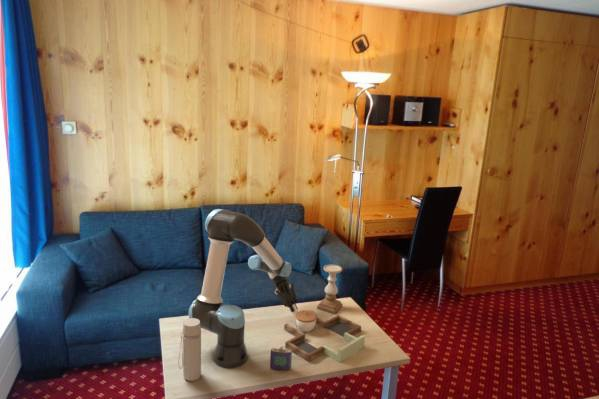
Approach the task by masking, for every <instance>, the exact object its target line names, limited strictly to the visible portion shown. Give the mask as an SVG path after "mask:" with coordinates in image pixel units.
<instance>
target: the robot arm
mask: <svg viewBox="0 0 599 399" xmlns="http://www.w3.org/2000/svg"><path fill="white" fill-rule="evenodd" d="M204 221H205V222H204V228H205V231H206V232H207V233H208V235H207V236H208V237H207V238H208V240H209V242H210V244H209V250H208V253H207V254H208V256H207V261H206V264H205V265H206V266H205V270H204V271H205V272H204V276H203V283H202V287H201V293H200V294H199V295H198V296H197V297H196V299H195V300H193V301H192V303H191V304H190V306H189V308H188V319H190V318H196V319H198V320H199V321H200V326H201V329H202V330H205V331H207V332H209V333H210V332H211V333H213V334H215V335H217V337H216V338H217V340H216V341H217V342H216V346H215V348H214V351H213V354H212V358H213V359H212V360H213V362H214V363H215V365H217V366H218V367H222V368H227V369H231V368H233V369H234V368H237V367H241V366H242V365H243V364H245V363H247V360H248V354H249V353H248V349H247V347H246V343H245V325H246V319H245V313H244V310H243V309H242V308H241V307H239V306H237V305H235V304H223V302H224V300H223V299H222V297H221V295H222V289H223V283H224V278H225V273H226V272H225V271H226V266H227V262H228V257H229V251H230V245H232V244H233V243H234V242H235V240H236V241H240V242H242V243H244V244H245V245H246V246H248V247H249V248H252V249H253V250H254V251H255V253H256V254H254V255H251V256H249V258H248V261H247V265H248V267H249V269H251V270H252V271H258V270H259V271H262V272H265V273H267V274H268V277H269V279H270V280H271V283H272V285H273V286H274V287H275V291H274V292H273V294H274V295H275V296H276V297H277V298H278V299H279V301H280V302H281V303H282V305H283V306H284V307H285V308H289V310H290V312H291V313H292V314H293V315H294V316H293V317H294V318H295V319H296V316H295V315H296V313H297V312H299V308H298V306H297V302H298V298H297V295H296V290H295V289H294V288H295V287H294V284H293V283H292V284H290V283H289V282H288V280H287V279H288V277H289V276H290V274H291V273H292V269H293V268H292V264H291V263H290V262H287V261H286V260H284V259H283V258H282V257H281V255H279V253H278V252H277V250H276V249H275V248H274V247H273V245H272V244H271V243H270V242H269V240H268V239H267V238H266V237H265V236H266V235H265V232H264V230H263V229H262V228H261V226H260V225H259V224H258V223H257V222H256V221H255V220H253V219H252V218H251V217H249V215H247V214H243V213H241V212H235V211H232V210H231V211H230V210H227V209H223V208H222V209H221V208H217V209H213V210H212V211H210V213H208V215H207V217H206V219H205V220H204Z"/></svg>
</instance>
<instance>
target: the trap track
mask: <svg viewBox="0 0 599 399" xmlns="http://www.w3.org/2000/svg"><path fill="white" fill-rule="evenodd" d="M315 325H317V326H319V327H320V328H322V329H324V330H326V329H328V330H330V331H332V332H333V333H335V334H338V335H340V336H342V337H343V340H345V341H347V342H348V343H346V344H344V345H342V346H341V347H340V348H338V350H337V351H336V350H334V349H332V348H330V347H329V346H327V345H325V344H323V345H321V346H319V347H315V346H314V345H312V344H310V343H309V342H307V341H305V340H306V334H305V332H302V331H300V330H299V329H298V328H295V327H293V326H292V325H290V324H288V323H285V324H283V330H284V331H285V332H287V333H288V334H290V335H292V336H293V337H292V338H291V339H288V340H287V341H285V342H284V344H285V346H284V348H285V349H286V350H288V349H290V350H292V354H294V355H296V356H297V357H299V358H301V359H303V360H304V361H305V362H307V363H310V362H311V361H313V360H315V359H316V358H319V357H320V356H322V355H323V354H325V355H326V356H328V357H330V358H332V359H333V360H335V361H337V362H338V363H341V362H344V361H345V360H346V359H348V358H350V357H351V356H353V355H354V354H355V353H357V352H359V351H361V350H362V349H364V346H365V339H366V335H364V334H361V335H360V336H358V337H356V335H358V334H359V333H361V331H362V326H361V324H360V325H359V324H358V323H356V322H353V321H351V320H349V319H348V318H346V317H343V316H341V315H340V314H337V315H335V316H334V317H331V318H330V319H327V320H326V321H325V320H324V319H321V318H319V317H317V319H316V324H315Z"/></svg>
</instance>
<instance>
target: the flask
mask: <svg viewBox="0 0 599 399" xmlns="http://www.w3.org/2000/svg"><path fill="white" fill-rule="evenodd" d="M269 355H270V358H269V359H270V361H269V362H270V363H269V364H270V365H269V369H270V370H274V371H282V372H283V371H287V372H288V371H291V369H292V360H293V359H292V358H293V357H292V356H293V352H292V350H290V349H286V348H285V349H284V346H282V345H281V346H280V348H276V347H272V348H271V349H270V354H269Z"/></svg>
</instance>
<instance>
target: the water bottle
mask: <svg viewBox="0 0 599 399" xmlns="http://www.w3.org/2000/svg"><path fill="white" fill-rule="evenodd" d="M201 329H202V328H201V326H200V321H199V320H198V319H196V318H190V319H189V318H187V319H185V320H184V321H183V325H182V332H181V333H180V342H182V343H180V345H179V349H182V351H179V353H178V359H180V357H181V360H182V365H181V366H180V360H178V361H177V362H178V368H179V370H181V369H183V374H182V375H183V378H184V380H186V381H188V382H194V381H197V380H199V379H200V378H201V376H202V330H201ZM180 354H181V356H180Z"/></svg>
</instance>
